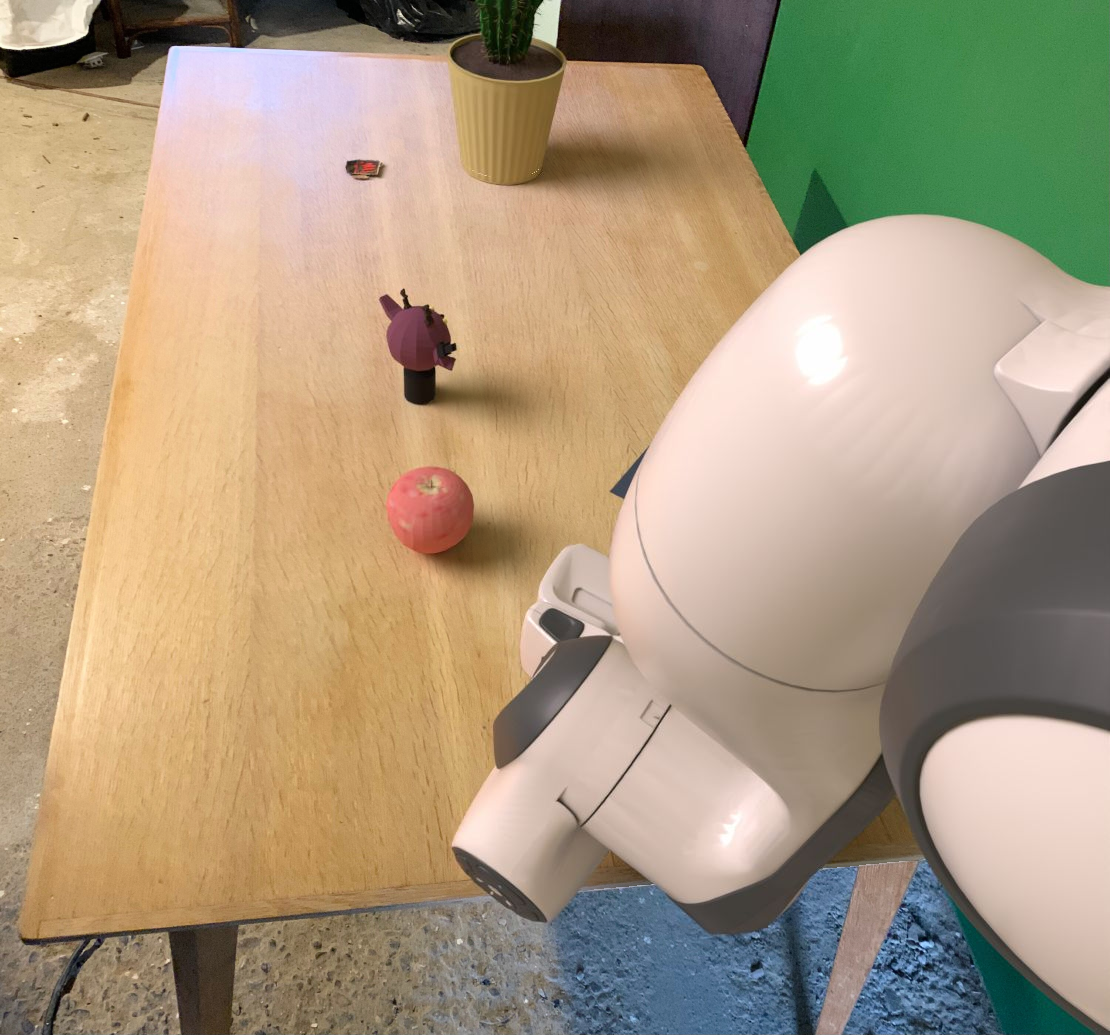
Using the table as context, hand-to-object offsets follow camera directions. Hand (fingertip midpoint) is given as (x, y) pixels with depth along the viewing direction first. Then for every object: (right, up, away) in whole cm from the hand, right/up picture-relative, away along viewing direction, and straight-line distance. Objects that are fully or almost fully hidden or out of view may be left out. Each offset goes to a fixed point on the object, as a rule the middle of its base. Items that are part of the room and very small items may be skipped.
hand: (712, 572), depth 73 cm
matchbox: (-38, +51, +55) cm, 84 cm away
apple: (-23, +2, +12) cm, 26 cm away
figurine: (-26, +17, +25) cm, 40 cm away
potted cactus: (-20, +53, +59) cm, 82 cm away
